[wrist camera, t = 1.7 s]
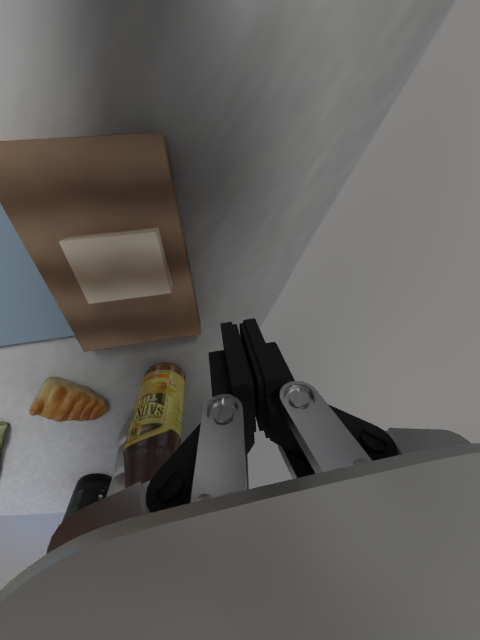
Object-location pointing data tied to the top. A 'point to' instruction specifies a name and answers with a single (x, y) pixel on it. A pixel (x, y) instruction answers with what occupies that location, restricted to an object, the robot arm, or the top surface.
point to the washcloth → (2, 433)
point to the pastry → (67, 401)
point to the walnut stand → (100, 227)
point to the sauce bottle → (154, 423)
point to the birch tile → (119, 264)
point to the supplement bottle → (88, 492)
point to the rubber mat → (25, 294)
